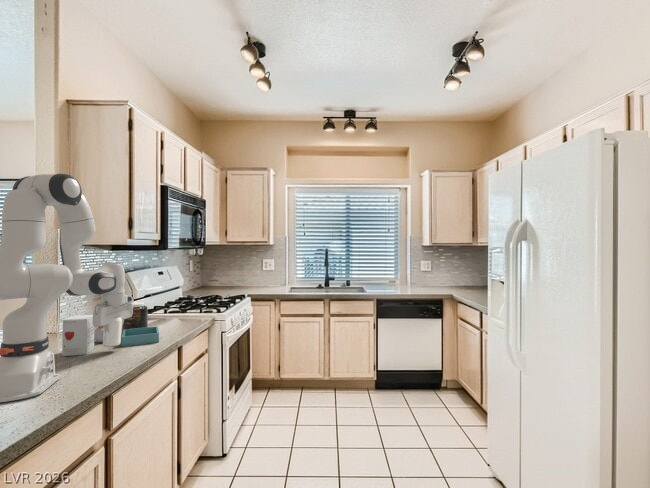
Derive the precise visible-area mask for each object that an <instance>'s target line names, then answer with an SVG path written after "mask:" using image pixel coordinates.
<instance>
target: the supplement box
mask: <svg viewBox="0 0 650 488" xmlns="http://www.w3.org/2000/svg"><path fill="white" fill-rule="evenodd" d="M92 320H93V314H87V315H86V314H85V315H83V314H80V315H78V314H77V315H71V316H68V317H66V318H64V319H63V320H62V349H61V350H62V353H61V354H62V355H61V356H62V357H70V356H71V357H72V356H81V355H82V356H83V355H88V354H90V353H91V351H93V350H94V349H95V340H94V331H95V326H94V325H93V324H92Z"/></svg>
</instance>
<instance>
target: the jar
mask: <svg viewBox="0 0 650 488" xmlns="http://www.w3.org/2000/svg"><path fill="white" fill-rule="evenodd" d="M132 304H133V314H132V317H130V318H127V319H124V323H123V325H122V330H121V335H122V334H123V330H125V329H135V328H146V327H148V325H149V321H148V320H149V317H148V316H149V314H148V313H149V312H148V309H149V308H148V306H147V305H145V302H143V301H135V302H133V301H132Z"/></svg>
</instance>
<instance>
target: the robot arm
mask: <svg viewBox="0 0 650 488" xmlns="http://www.w3.org/2000/svg"><path fill="white" fill-rule="evenodd" d="M82 189H83V188H82V187H81V184H80V182H79V181H78V179H77V178H76V177H74V176H73V175H71V174H67V173H49V174H48V173H47V174H46V173H42V174H40V173H39V174H35V175H31V176H30V175H29V176H28V175H27V176H24V177H21V178H19V179H18V180H16V181H15V182H14V184H13V186H12V190H10V191H8V192H7V193H6V194H5V195H4V200H3V203H2V204H3V205H2V209H1V210H2V213H1V239H0V301H3V300H4V301H5V300H13V299H14V300H16V299H26V302H25V303H24V304H23V305H22V306H21V307H19V308H16V309H15V310H13V311H11V312H9V313H8V314H6V316H5V317H4V318H3V321H2V342H1V343H0V403H6V402H13V401H18V400H23V399H28V398H32V397H35V396H39V395H41V394H42V393H43V392H45V391H46V390H47V389H49V388H50V387H51V386H53V384H55V383H56V382H57V381H58V380H60V379H61V378H62V374H61V373H56V366H55V363H56V362H55V354H54V353H53V352H52V351H50V349H49V344H50V340H49V336H48V320H49V313H50V311H51V308H52V307H53V305H54V303H55V302H56V301H57V299H58V298H60V297H61V296H62V295H63V294H64V293H67V295H69V296H72V297H78V296H101V297H100V300H101V301H100V302H98V303H97V304H96V305H95V307H94V309H93V313H92V315H93V320H92V324H93V325H94V327H98V326H103V328H104V330H105V334H106V331H108V333H109V329H110V328H109V326H110V323H112V321H113V317H120V316H121V319H122V325H123V323H124V319H127V318H130V317H132V314H133V304H132V302H133V301H134V298H133V296H131V295H128V294H126V290H125V284H126V273H125V268H124V265H123V264H121V263H119V262H109V261H107V262H103V263H102V265H101V266H99V267H98V268H96V269H94V270H92V271H85V270H84V269H83V268H82V262H81V255H80V250H81V247H82V245H84V244H86V243H87V242H89V241H90V240H92V239H93V237H94V236H95V234H96V231H97V230H96V229H97V228H96V223H95V218H94V215H93V212H92V209H91V207H90V204H89V202H88V200H87V198H86V196H85V195H84V194H83V190H82ZM47 206H48V207H53V208H54V209H55V211H56V214H57V219H58V222H59V226H60V235H61V236H60V239H59V251H60V258H61V262H62V264H58V263H56V264H55V263H27V264H26V263H24V260H25V258H26V257H27V256H29V255H32V254H34V253H36V252H39V251H41V250H43V248H44V247H45V245H46V243H47V225H46V224H47V223H46V222H47V221H46V208H47ZM121 331H122V328H121Z"/></svg>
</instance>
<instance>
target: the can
mask: <svg viewBox="0 0 650 488" xmlns="http://www.w3.org/2000/svg"><path fill="white" fill-rule="evenodd" d="M109 328H110V329H109V333H108V331H106V334H105V330H104V333H103V342H102V346H103V347H105V348H106V347H107V348H108V347H117V346H120V345H121V344H122V330H121V328H122V319H121V316H120V317H113V321H112V323H110V326H109Z"/></svg>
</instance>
